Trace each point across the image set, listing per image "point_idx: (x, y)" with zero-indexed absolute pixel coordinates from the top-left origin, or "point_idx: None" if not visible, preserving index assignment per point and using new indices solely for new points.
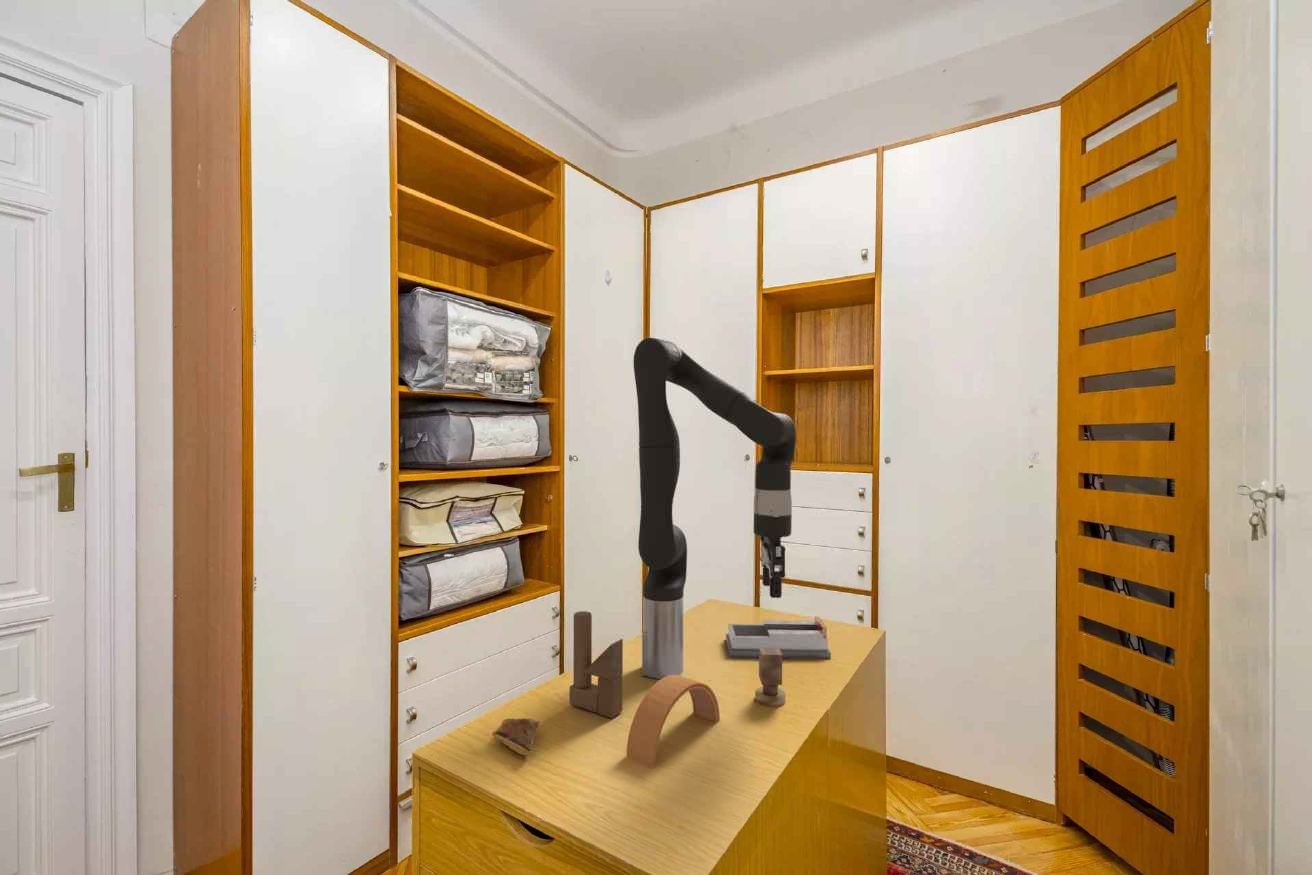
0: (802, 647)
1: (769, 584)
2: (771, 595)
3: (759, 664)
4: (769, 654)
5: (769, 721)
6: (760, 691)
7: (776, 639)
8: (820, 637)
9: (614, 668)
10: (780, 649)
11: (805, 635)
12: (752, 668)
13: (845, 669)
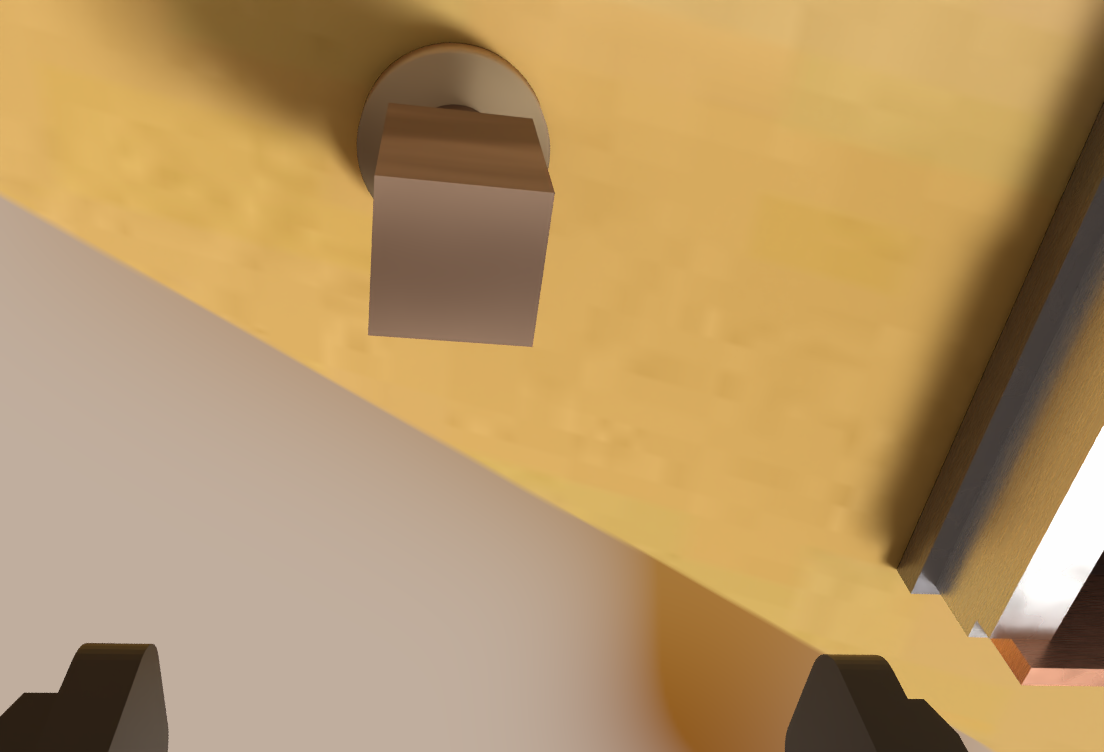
0: (994, 491)
1: (803, 728)
2: (79, 671)
3: (516, 144)
4: (377, 238)
5: (170, 56)
6: (479, 93)
7: (1088, 386)
8: (986, 611)
9: None
10: (1039, 374)
11: (1027, 553)
12: (912, 144)
13: (763, 593)
